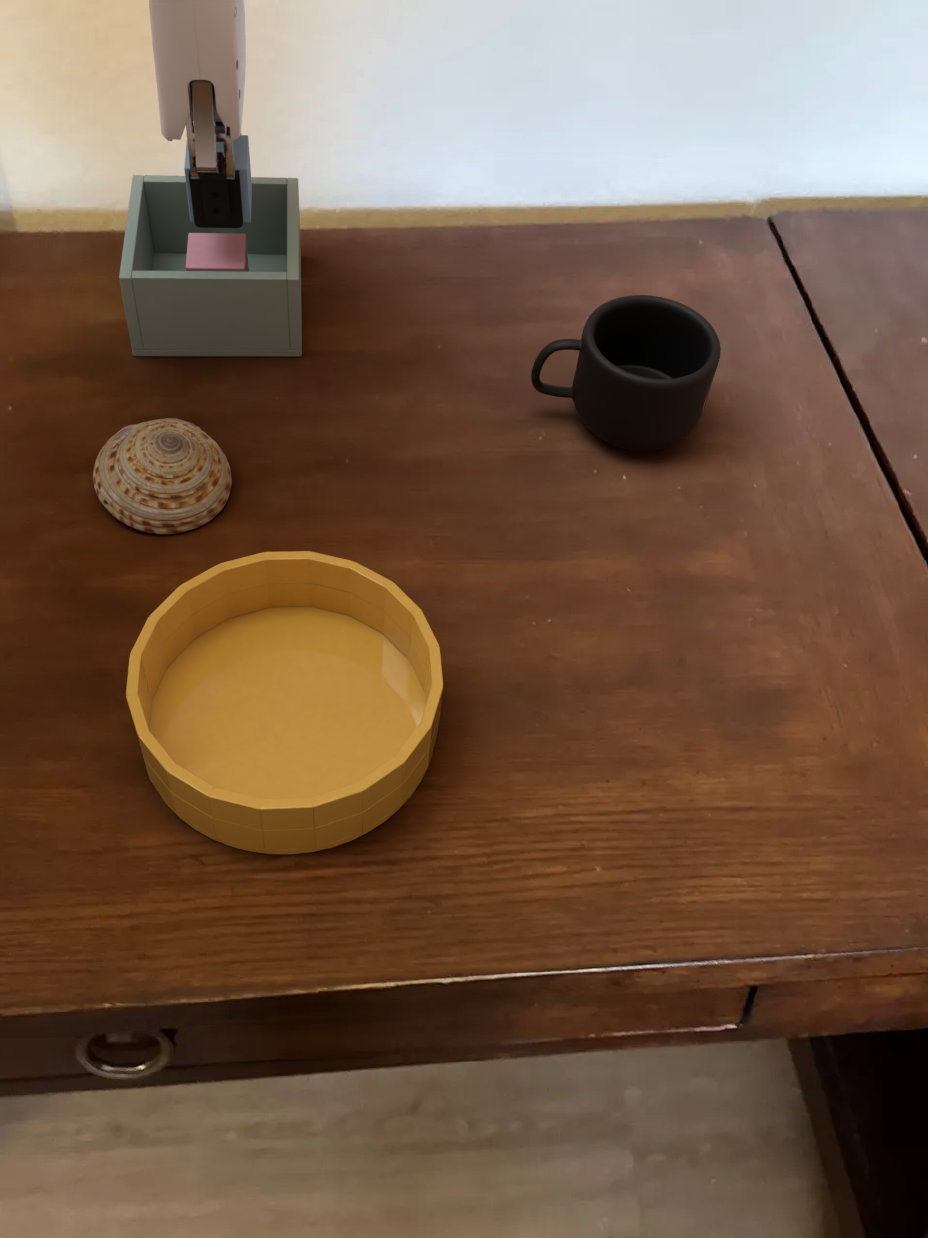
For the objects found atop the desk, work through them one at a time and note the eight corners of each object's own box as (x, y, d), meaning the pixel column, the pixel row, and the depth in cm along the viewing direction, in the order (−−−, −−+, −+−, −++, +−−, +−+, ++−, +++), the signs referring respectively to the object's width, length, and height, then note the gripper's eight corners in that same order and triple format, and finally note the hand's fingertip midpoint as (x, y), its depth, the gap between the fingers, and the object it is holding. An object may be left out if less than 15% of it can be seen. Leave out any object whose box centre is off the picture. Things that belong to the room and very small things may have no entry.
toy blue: (190, 221, 81) (184, 168, 78) (193, 186, 84) (187, 133, 81) (250, 222, 82) (246, 169, 79) (251, 187, 84) (248, 134, 81)
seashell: (172, 389, 79) (233, 417, 73) (198, 465, 82) (258, 498, 77) (58, 441, 75) (112, 475, 70) (90, 518, 79) (144, 557, 73)
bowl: (128, 862, 61) (113, 815, 57) (150, 608, 71) (139, 553, 67) (447, 848, 63) (454, 801, 59) (426, 602, 73) (431, 548, 69)
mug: (688, 376, 87) (711, 295, 81) (705, 467, 82) (732, 387, 76) (522, 369, 86) (534, 286, 81) (528, 460, 81) (541, 378, 75)
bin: (132, 356, 84) (118, 277, 79) (145, 253, 91) (132, 174, 86) (301, 356, 85) (298, 279, 80) (301, 254, 92) (298, 177, 87)
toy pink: (191, 314, 86) (185, 267, 83) (193, 279, 88) (188, 232, 85) (248, 315, 87) (244, 268, 83) (249, 279, 89) (245, 232, 86)
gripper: (135, -146, 73) (171, 135, 87) (111, -10, 63) (156, 281, 77) (262, -140, 74) (276, 137, 88) (257, -5, 64) (275, 282, 78)
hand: (220, 202), depth 83 cm, fingers closed on toy blue, 3 cm apart
